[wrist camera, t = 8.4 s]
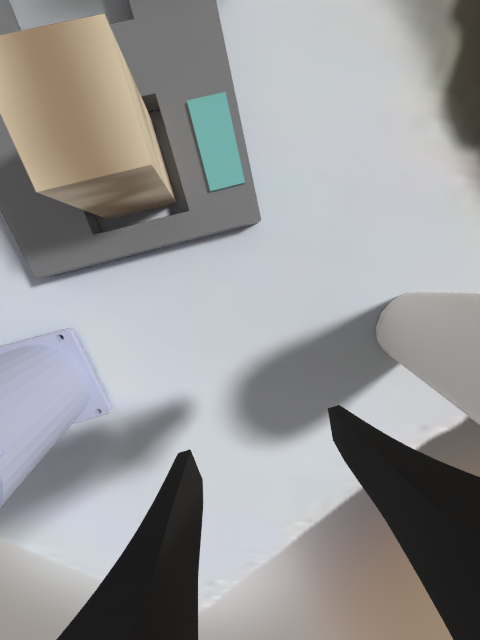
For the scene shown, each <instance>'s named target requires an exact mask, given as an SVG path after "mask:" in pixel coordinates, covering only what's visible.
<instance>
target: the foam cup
mask: <svg viewBox="0 0 480 640" xmlns="http://www.w3.org/2000/svg"><path fill="white" fill-rule="evenodd" d="M376 335H377V341H378V343H379V344H380V346H381V347H382V349H383V350H384V351H385V352H387V353H388V355H390V356H391V357H392V358H394V359H395V360H396V361H398V362H399V363H400V364H401V365H403V366H404V367H405V368H407V369H408V370H409V371H411V372H412V373H413V374H414V375H416V376H417V377H418V378H420V379H421V380H422V381H424V382H425V383H426V384H427V385H429V386H430V387H431V388H433V389H434V390H435V391H437V392H438V393H439V394H440V395H442V396H443V397H444V398H446V399H447V400H448V401H450V402H451V403H452V404H453V405H455V406H456V407H457V408H459V409H460V410H461V411H463V412H464V413H465V414H466V415H468V416H469V417H470V418H472V419H473V420H474V421H476V422H477V423H478V424H480V293H445V292H413V293H405V294H403V295H401V296H399V297H397V298H395V299H393V300H392V301H391V302H390V303H389V304H388V305H387V306H386V307H385V308H384V310H383V311H382V312H381V314H380V317H379V319H378V322H377V325H376Z"/></svg>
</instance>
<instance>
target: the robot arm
mask: <svg viewBox="0 0 480 640" xmlns="http://www.w3.org/2000/svg"><path fill="white" fill-rule="evenodd" d="M60 335H62V336H63V337H64V339H62V338H60ZM97 409H100V410H101V411H98V410H97ZM111 409H112V406H111V404H110V402H109V400H108V398H107V396H106V394H105V392H104V390H103V388H102V386H101V383H100V381H99V379H98V377H97V375H96V373H95V371H94V369H93V367H92V365H91V363H90V361H89V359H88V357H87V355H86V353H85V351H84V349H83V347H82V345H81V343H80V341H79V339H78V337H77V335H76V333H75V331H74V330H72V329H63V330H60V331H56V332H52V333H49V334H45V335H41V336H37V337H34V338H30V339H26V340H22V341H19V342H15V343H11V344H7V345H4V346H0V508H1V506H2V505H3V504H4V503H5V502H6V501H7V499H8V498H9V497H10V496H11V495H12V494H13V492H14V491H15V490H16V489H17V488H18V487H19V485H20V484H21V483H22V482H23V481H24V480H25V478H26V477H27V476H28V475H29V474H30V473H31V471H32V470H33V469H34V468H35V467H36V466H37V464H38V463H39V462H40V461H41V460H42V459H43V457H44V456H45V455H46V454H47V453H48V452H49V450H50V449H51V448H52V447H53V446H54V445H55V443H56V442H57V441H58V440H59V439H60V438H61V436H62V435H63V434H64V433H65V432H66V431H67V429H68V428H69V427H70V426H71V425H72V424H75V423H78V422H82V421H85V420H88V419H92V418H95V417H99V416H102V415H106V414H108V413H109V412H110V411H111ZM328 412H329V418H330V425H331V431H332V437H333V441H334V443H335V445H336V446H337V448H338V450H339V452H340V454H341V455H342V457H343V459H344V461H345V462H346V464H347V465H348V467H349V468H350V469H351V471H352V472H353V474H354V475H355V477H356V478H357V480H358V481H359V482H360V484H361V485H362V487H363V488H364V490H365V491H366V492H367V494H368V495H369V496H370V498H371V500H372V501H373V502H374V504H375V505H376V507H377V508H378V510H379V511H380V512H381V514H382V516H383V517H384V519H385V520H386V522H387V524H388V525H389V527H390V529H391V530H392V532H393V533H394V535H395V537H396V538H397V540H398V542H399V543H400V545H401V547H402V549H403V550H404V552H405V554H406V556H407V557H408V559H409V561H410V563H411V564H412V566H413V568H414V570H415V571H416V573H417V575H418V576H419V578H420V580H421V582H422V584H423V585H424V587H425V589H426V591H427V592H428V594H429V596H430V598H431V599H432V601H433V603H434V605H435V607H436V608H437V610H438V612H439V614H440V616H441V617H442V619H443V621H444V623H445V625H446V627H447V628H448V630H449V632H450V634H451V636H452V638H453V640H480V477H478V476H475V475H472V474H470V473H467V472H465V471H462V470H459V469H457V468H455V467H452V466H449V465H447V464H445V463H443V462H440V461H438V460H436V459H433V458H431V457H429V456H427V455H425V454H423V453H421V452H418V451H416V450H414V449H412V448H410V447H408V446H406V445H404V444H403V443H401V442H399V441H397V440H395V439H393V438H392V437H390V436H388V435H386V434H384V433H383V432H381V431H379V430H378V429H376V428H374V427H373V426H371V425H369V424H368V423H366V422H365V421H363V420H362V419H360V418H358V417H357V416H355V415H354V414H352V413H351V412H349V411H348V410H346V409H345V408H343V407H341V406H340V405H338V406H335V407H332V408H328ZM202 514H203V482H202V477H201V475H200V472H199V470H198V467H197V465H196V462H195V460H194V457H193V455H192V452H191V450H187V451H184V452H180V453H178V455H177V456H176V459H175V461H174V463H173V465H172V467H171V469H170V471H169V473H168V475H167V477H166V479H165V481H164V483H163V485H162V487H161V489H160V491H159V492H158V494H157V496H156V498H155V500H154V502H153V504H152V505H151V507H150V509H149V511H148V512H147V514H146V516H145V518H144V519H143V521H142V523H141V525H140V526H139V528H138V530H137V531H136V533H135V535H134V536H133V538H132V539H131V541H130V542H129V544H128V545H127V547H126V549H125V550H124V552H123V553H122V555H121V556H120V558H119V559H118V560H117V562H116V563H115V565H114V566H113V568H112V569H111V570H110V572H109V573H108V574H107V576H106V577H105V579H104V580H103V581H102V583H101V584H100V586H99V587H98V588H97V590H96V591H95V592H94V594H93V595H92V596H91V597H90V599H89V600H88V602H87V603H86V604H85V605H84V607H83V608H82V609H81V610H80V612H79V613H78V614H77V615H76V617H75V618H74V619H73V620H72V622H71V623H70V624H69V625H68V626H67V628H66V629H65V630H64V631H63V633H62V634H61V635H60V636H59V637H58V639H57V640H198V569H199V554H200V541H201V528H202Z"/></svg>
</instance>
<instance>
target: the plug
mask: <svg viewBox="0 0 480 640" xmlns="http://www.w3.org/2000/svg"><path fill="white" fill-rule="evenodd" d="M0 114H1V116H2V118H3V120H4V123H5V125H6V127H7V129H8V131H9V134H10V136H11V138H12V140H13V142H14V145H15V147H16V149H17V151H18V153H19V155H20V158H21V160H22V162H23V164H24V166H25V169H26V171H27V173H28V175H29V177H30V180H31V182H32V184H33V186H34V188H35V191H36V192H37V193H40V194H42V195H45V196H48V197H50V198H53V199H55V200H58V201H61V202H63V203H66V204H69V205H71V206H74V207H77V208H79V209H82V210H85V211H87V212H90V213H92V214H95V215H98V216H100V217H103V218H106V219H108V220H111V219H115V218H119V217H123V216H127V215H131V214H135V213H139V212H143V211H147V210H151V209H155V208H159V207H163V206H167V205H171V204H175V203H177V202H176V199H175V195H174V192H173V189H172V185H171V182H170V179H169V175H168V172H167V169H166V165H165V162H164V159H163V155H162V152H161V149H160V145H159V142H158V139H157V135H156V132H155V129H154V125H153V122H152V120H151V118H150V115H149V113H148V111H147V109H146V106H145V104H144V102H143V100H142V97H141V95H140V93H139V91H138V88H137V86H136V84H135V82H134V79H133V77H132V75H131V73H130V70H129V68H128V66H127V64H126V61H125V59H124V57H123V55H122V52H121V50H120V48H119V46H118V43H117V41H116V39H115V37H114V34H113V32H112V30H111V28H110V25H109V23H108V21H107V18H106V16H105V14H100V15H95V16H90V17H85V18H81V19H76V20H71V21H66V22H61V23H57V24H52V25H47V26H42V27H37V28H33V29H28V30H23V31H18V32H13V33H9V34H4V35H0Z"/></svg>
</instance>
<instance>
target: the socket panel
mask: <svg viewBox="0 0 480 640" xmlns="http://www.w3.org/2000/svg"><path fill="white" fill-rule="evenodd" d="M129 3H130V6H131V10H132V13H133V17H134V19H131V20H127V21H122V22H117V23H113V24H109V25H110V28H111V30H112V32H113V34H114V37H115V39H116V41H117V43H118V46H119V48H120V50H121V52H122V55H123V57H124V59H125V61H126V64H127V66H128V68H129V70H130V73H131V75H132V77H133V79H134V82H135V84H136V86H137V88H138V91H139V93H140V95H141V97H142V100H143V102H144V104H145V106H146V109H147V111H148V112H151V111H155V110H160V111H161V114H162V118H163V121H164V125H165V128H166V131H167V135H168V138H169V142H170V145H171V149H172V152H173V156H174V159H175V163H176V166H177V170H178V173H179V177H180V180H181V184H182V187H183V191H184V194H185V197H186V201H187V204H188V208H189V211H187V212H183V213H179V214H175V215H171V216H167V217H163V218H159V219H155V220H151V221H147V222H143V223H139V224H135V225H131V226H127V227H123V228H119V229H115V230H111V231H107V232H103V233H102V232H101V229H100V227H99V224H98V222H97V219H96V217H95V214H92V213H90V212H87V211H85V210H82V209H79V208H77V207H74V206H71V205H69V204H66V203H63V202H61V201H58V200H55V199H53V198H50V197H48V196H45V195H42V194H40V193H37V192H36V191H35V188H34V186H33V184H32V182H31V180H30V177H29V175H28V173H27V171H26V169H25V166H24V164H23V162H22V160H21V158H20V155H19V153H18V151H17V149H16V147H15V145H14V142H13V140H12V138H11V136H10V134H9V131H8V129H7V127H6V125H5V123H4V120H3V118H2V116H1V114H0V210H1V212H2V214H3V216H4V218H5V220H6V222H7V224H8V226H9V228H10V230H11V232H12V234H13V236H14V238H15V239H16V241H17V243H18V245H19V247H20V249H21V251H22V253H23V255H24V257H25V259H26V261H27V263H28V265H29V267H30V269H31V271H32V273H33V275H34V277H35V278H41V277H51V276H54V275H58V274H62V273H66V272H70V271H74V270H78V269H82V268H86V267H89V266H93V265H97V264H101V263H105V262H109V261H113V260H117V259H120V258H124V257H128V256H132V255H136V254H140V253H144V252H148V251H152V250H155V249H159V248H163V247H167V246H171V245H175V244H179V243H183V242H187V241H190V240H194V239H198V238H202V237H206V236H210V235H214V234H218V233H222V232H225V231H229V230H233V229H237V228H241V227H245V226H249V225H253V224H256V223H258V222H259V221H261V217H260V212H259V207H258V202H257V198H256V193H255V188H254V183H253V178H252V173H251V169H250V164H249V159H248V154H247V149H246V144H245V139H244V135H243V130H242V125H241V120H240V115H239V110H238V105H237V101H236V96H235V91H234V86H233V81H232V76H231V72H230V67H229V62H228V57H227V52H226V47H225V42H224V38H223V33H222V28H221V23H220V18H219V13H218V8H217V4H216V0H129ZM18 31H21V30H20V27H19V25H18V22H17V20H16V17H15V15H14V12H13V10H12V7H11V5H10V2H9V0H0V35H4V34H9V33H13V32H18Z"/></svg>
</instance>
